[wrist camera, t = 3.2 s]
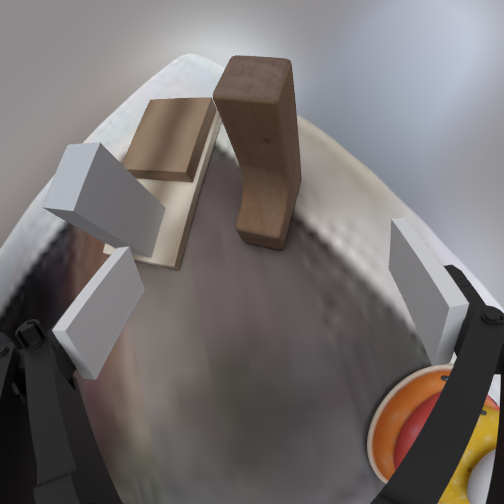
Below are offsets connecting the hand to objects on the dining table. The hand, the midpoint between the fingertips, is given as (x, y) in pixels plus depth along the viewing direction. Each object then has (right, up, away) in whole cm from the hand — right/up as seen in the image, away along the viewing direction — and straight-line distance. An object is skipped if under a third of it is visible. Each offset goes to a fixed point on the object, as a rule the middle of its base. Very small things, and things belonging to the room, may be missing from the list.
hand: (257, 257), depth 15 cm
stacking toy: (+18, -18, +11) cm, 28 cm away
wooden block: (+2, +5, +20) cm, 21 cm away
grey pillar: (-13, +3, +20) cm, 24 cm away
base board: (-11, +9, +23) cm, 27 cm away
